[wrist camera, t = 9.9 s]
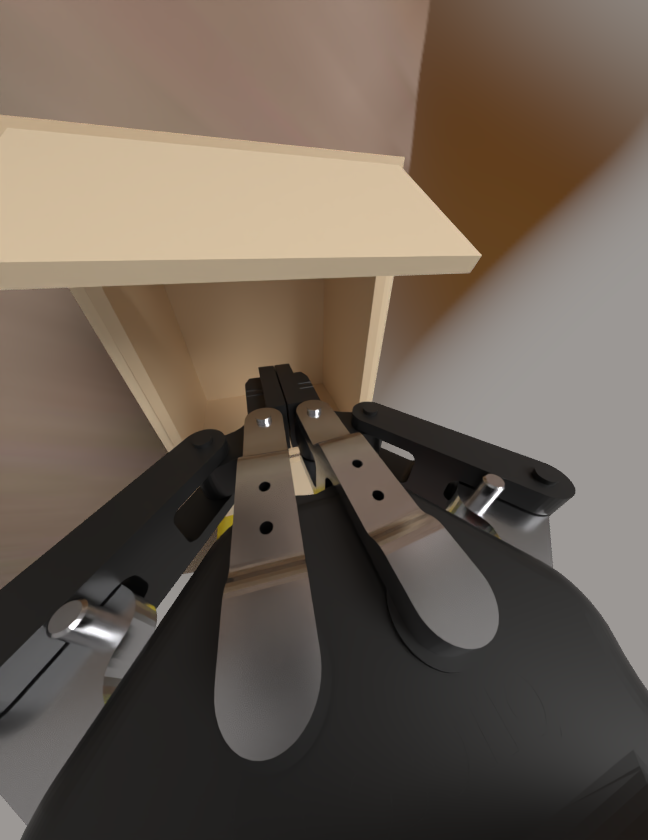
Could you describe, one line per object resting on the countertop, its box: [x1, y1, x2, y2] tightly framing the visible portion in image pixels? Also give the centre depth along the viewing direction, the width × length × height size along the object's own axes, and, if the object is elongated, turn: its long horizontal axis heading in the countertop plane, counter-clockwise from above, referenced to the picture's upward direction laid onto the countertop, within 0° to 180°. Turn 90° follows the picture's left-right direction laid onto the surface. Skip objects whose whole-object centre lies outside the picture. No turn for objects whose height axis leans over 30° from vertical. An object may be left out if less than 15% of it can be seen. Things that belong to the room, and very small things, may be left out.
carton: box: [0, 115, 405, 455], centre depth 17 cm, size 17×15×10 cm
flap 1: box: [0, 128, 482, 290], centre depth 7 cm, size 1×12×6 cm, turn 89°
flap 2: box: [226, 456, 314, 517], centre depth 21 cm, size 1×12×6 cm
